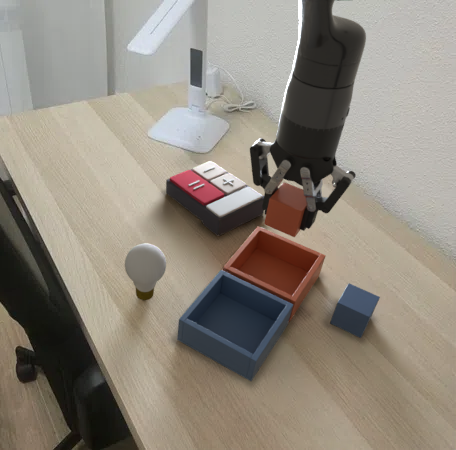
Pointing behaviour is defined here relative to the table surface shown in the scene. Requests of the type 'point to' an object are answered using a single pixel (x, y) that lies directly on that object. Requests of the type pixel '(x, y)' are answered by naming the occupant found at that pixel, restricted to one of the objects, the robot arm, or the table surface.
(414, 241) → the table surface
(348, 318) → the blue block
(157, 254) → the light bulb
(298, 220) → the terracotta block
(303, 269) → the terracotta bin
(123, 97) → the table surface
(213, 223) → the calculator
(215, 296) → the blue bin
